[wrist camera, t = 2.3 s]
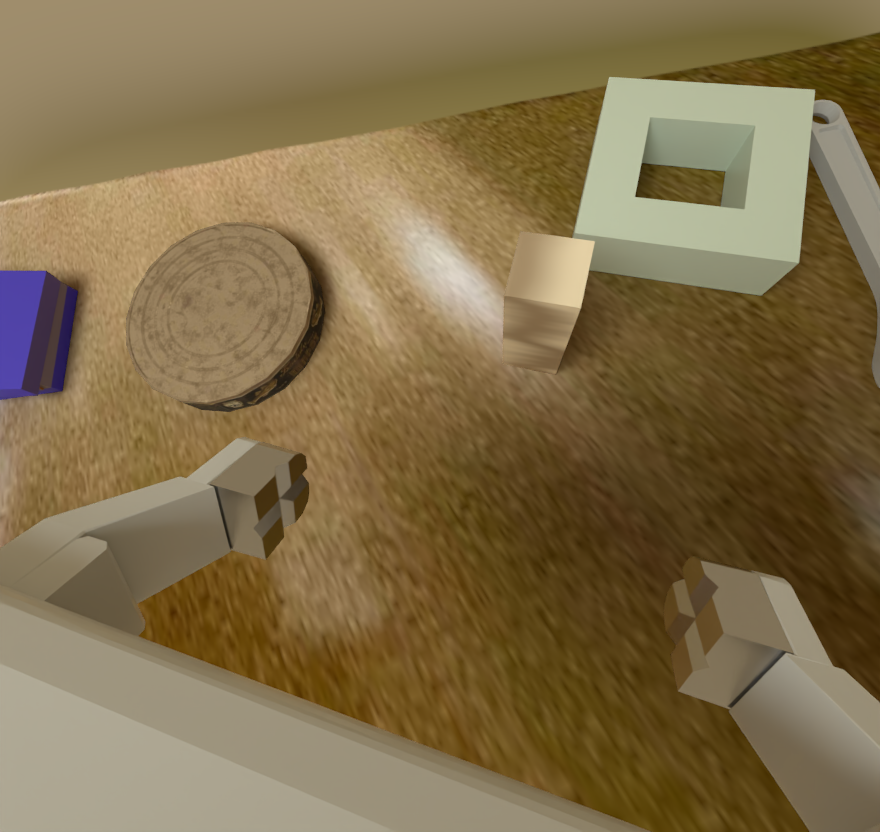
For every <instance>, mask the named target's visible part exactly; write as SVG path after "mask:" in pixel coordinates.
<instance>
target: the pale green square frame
mask: <svg viewBox="0 0 880 832" xmlns="http://www.w3.org/2000/svg"><path fill="white" fill-rule="evenodd" d="M814 96H815V90H809V89H793V88H777V87H761V86H745V85H729V84H713V83H697V82H681V81H665V80H649V79H633V78H616V77H609V80H608V84H607V88H606V92H605V96H604V100H603V104H602V109H601V113H600V117H599V121H598V125H597V129H596V134H595V138H594V143H593V147H592V152H591V156H590V160H589V165H588V169H587V174H586V178H585V183H584V187H583V192H582V196H581V201H580V205H579V210H578V214H577V219H576V223H575V227H574V232H573V236H572V238H574V239H582V240H589V241H595V244H594V248H593V253H592V258H591V263H590V267H589V270H592V271H598V272H605V273H612V274H619V275H625V276H632V277H639V278H645V279H652V280H659V281H666V282H672V283H679V284H686V285H693V286H699V287H706V288H713V289H719V290H726V291H733V292H740V293H746V294H753V295H760V296H761V295H763V294H764V293H765V292H766V291H767V290H768V289H770V288H771V287H772V286H773V285H774V284H775V283H776V282H778V281H779V280H780V279H781V278H782V277H783V276H784V275H786V274H787V273H788V272H789V271H790V270H791V269H793V268H794V267H795V266H796V265H797V264H798V263H799V258H800V247H801V236H802V225H803V215H804V204H805V193H806V182H807V171H808V161H809V150H810V139H811V128H812V118H813V107H814ZM641 163H646V164H656V165H667V166H677V167H687V168H697V169H707V170H717V171H726V173H725V180H724V187H723V194H722V201H721V207H718V206H709V205H701V204H692V203H683V202H674V201H665V200H657V199H648V198H639V197H635V194H636V189H637V184H638V179H639V173H640V168H641Z"/></svg>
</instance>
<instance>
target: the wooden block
mask: <svg viewBox="0 0 880 832" xmlns="http://www.w3.org/2000/svg"><path fill="white" fill-rule="evenodd" d="M594 244H595V241H589V240H582V239H574V238H567V237H560V236H552V235H545V234H537V233H530V232H523V231H520V235H519V239H518V243H517V247H516V250H515V254H514V258H513V262H512V266H511V270H510V274H509V278H508V282H507V286H506V290H505V294H504V321H503V364H505V365H510V366H515V367H520V368H525V369H530V370H535V371H540V372H545V373H550V374H555V375H556V372H557V370H558V367H559V365H560V362H561V359H562V357H563V354H564V351H565V349H566V346H567V344H568V341H569V338H570V336H571V333H572V330H573V328H574V325H575V322H576V320H577V317H578V315H579V312H580V309H581V305H582V301H583V296H584V291H585V286H586V282H587V277H588V272H589V267H590V263H591V258H592V253H593V248H594Z"/></svg>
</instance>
